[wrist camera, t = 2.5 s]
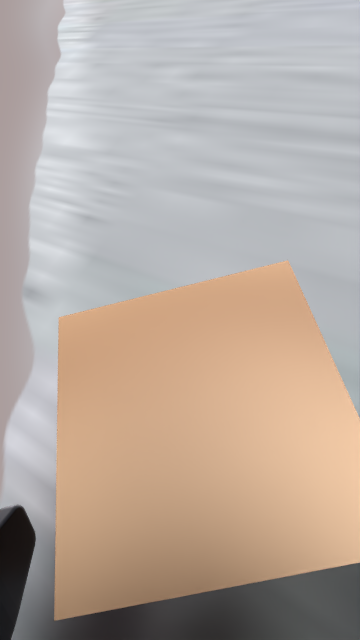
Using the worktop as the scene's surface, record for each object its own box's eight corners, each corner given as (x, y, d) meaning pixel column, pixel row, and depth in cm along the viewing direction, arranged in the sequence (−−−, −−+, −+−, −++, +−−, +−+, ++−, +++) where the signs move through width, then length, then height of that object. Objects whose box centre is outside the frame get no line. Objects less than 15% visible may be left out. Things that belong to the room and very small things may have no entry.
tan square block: (287, 513, 14) (418, 550, 3) (194, 532, 14) (54, 619, 4) (259, 418, 16) (288, 260, 5) (178, 436, 16) (58, 317, 6)
